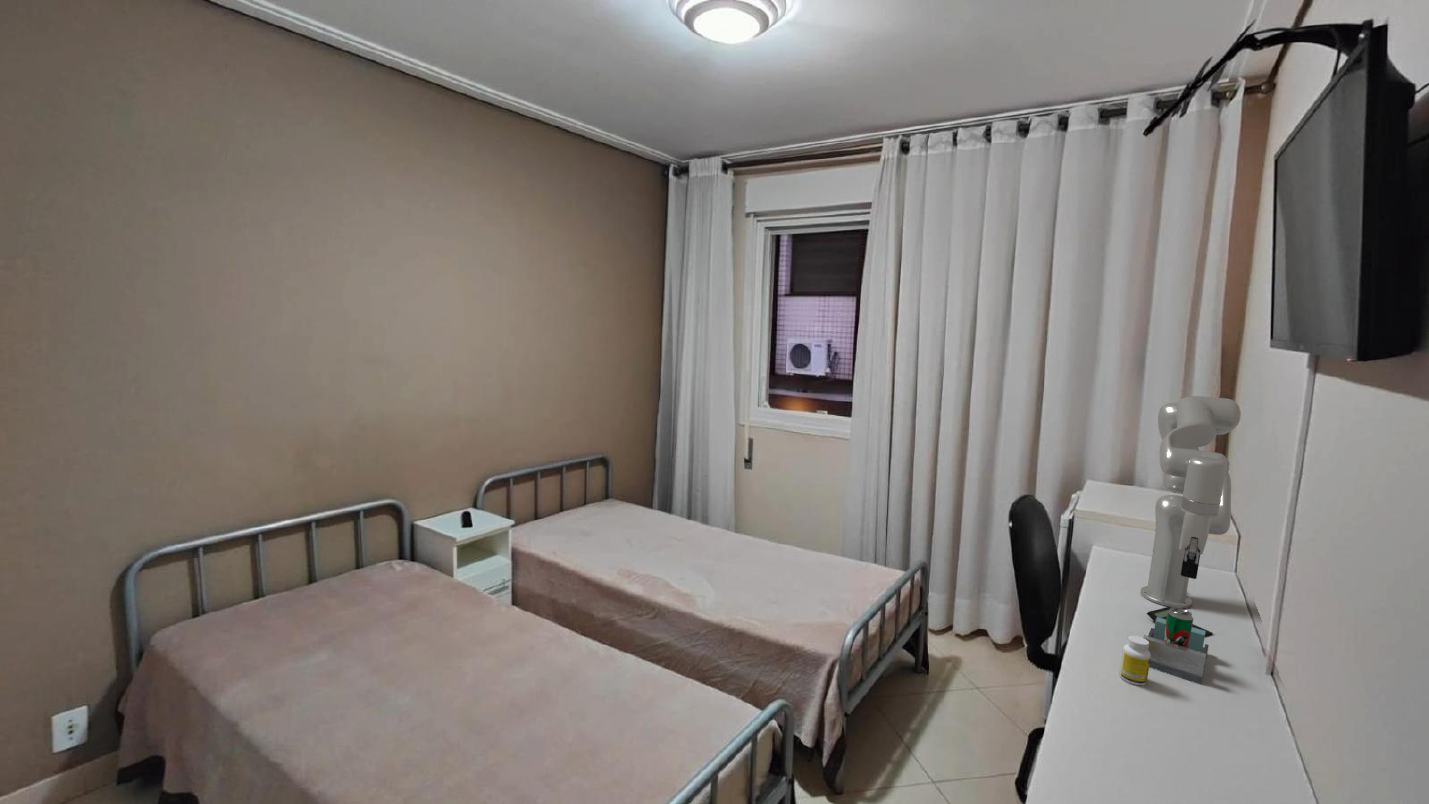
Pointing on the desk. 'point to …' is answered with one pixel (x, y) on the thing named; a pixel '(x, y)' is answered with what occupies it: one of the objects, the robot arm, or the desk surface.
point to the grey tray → (1176, 659)
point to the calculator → (1163, 614)
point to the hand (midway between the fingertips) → (1189, 570)
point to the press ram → (1195, 638)
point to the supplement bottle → (1135, 661)
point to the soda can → (1178, 627)
